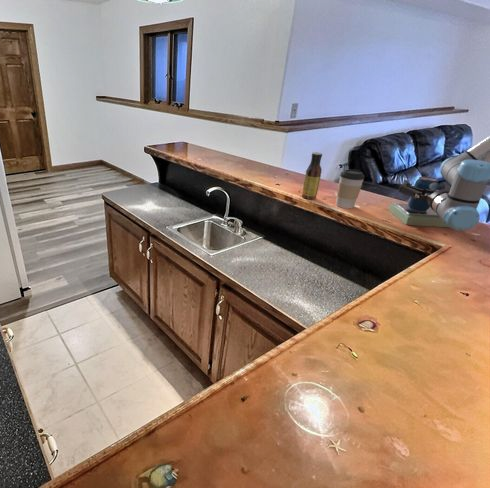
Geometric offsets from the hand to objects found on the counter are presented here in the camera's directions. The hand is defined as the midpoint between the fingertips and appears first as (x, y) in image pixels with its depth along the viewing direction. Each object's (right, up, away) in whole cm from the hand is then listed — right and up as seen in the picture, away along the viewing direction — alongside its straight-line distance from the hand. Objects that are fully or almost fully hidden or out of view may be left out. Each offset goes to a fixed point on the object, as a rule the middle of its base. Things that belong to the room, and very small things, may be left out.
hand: (424, 185), depth 131 cm
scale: (0, -12, +5) cm, 13 cm away
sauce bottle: (-34, -2, +25) cm, 42 cm away
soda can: (-1, -9, +3) cm, 9 cm away
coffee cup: (-22, -6, +16) cm, 28 cm away
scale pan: (-1, -9, +3) cm, 10 cm away
